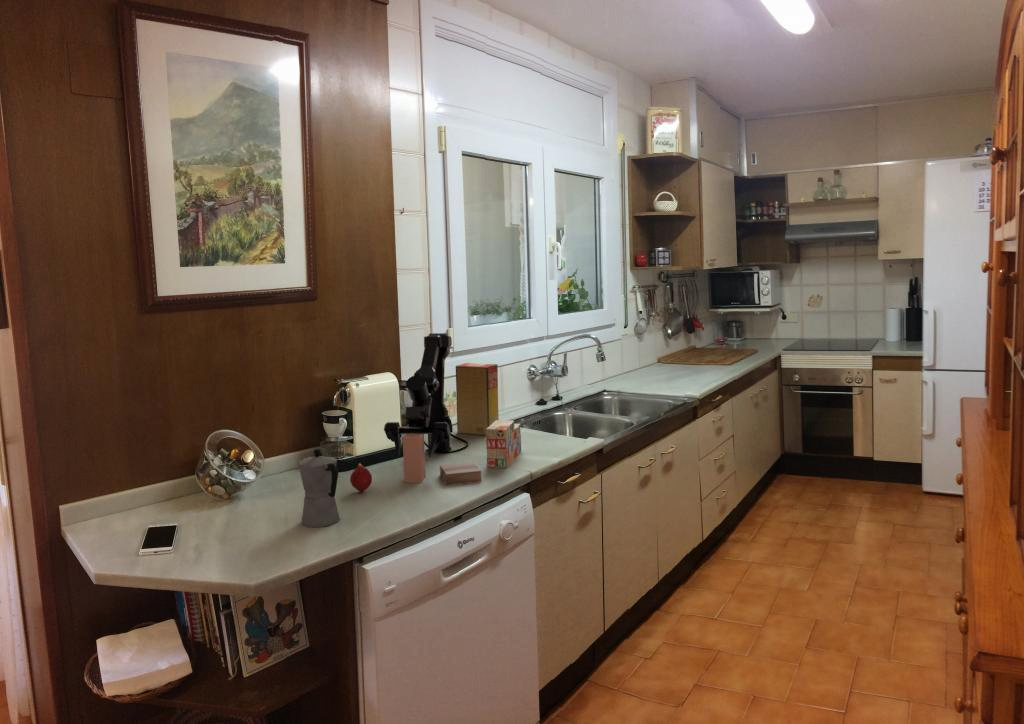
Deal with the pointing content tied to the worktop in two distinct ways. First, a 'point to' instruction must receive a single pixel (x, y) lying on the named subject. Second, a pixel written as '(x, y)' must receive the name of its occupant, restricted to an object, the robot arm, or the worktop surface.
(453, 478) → the walnut block
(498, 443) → the stack of blocks
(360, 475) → the onion
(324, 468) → the coffeepot
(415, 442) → the terracotta block
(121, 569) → the worktop surface
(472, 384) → the food packaging
